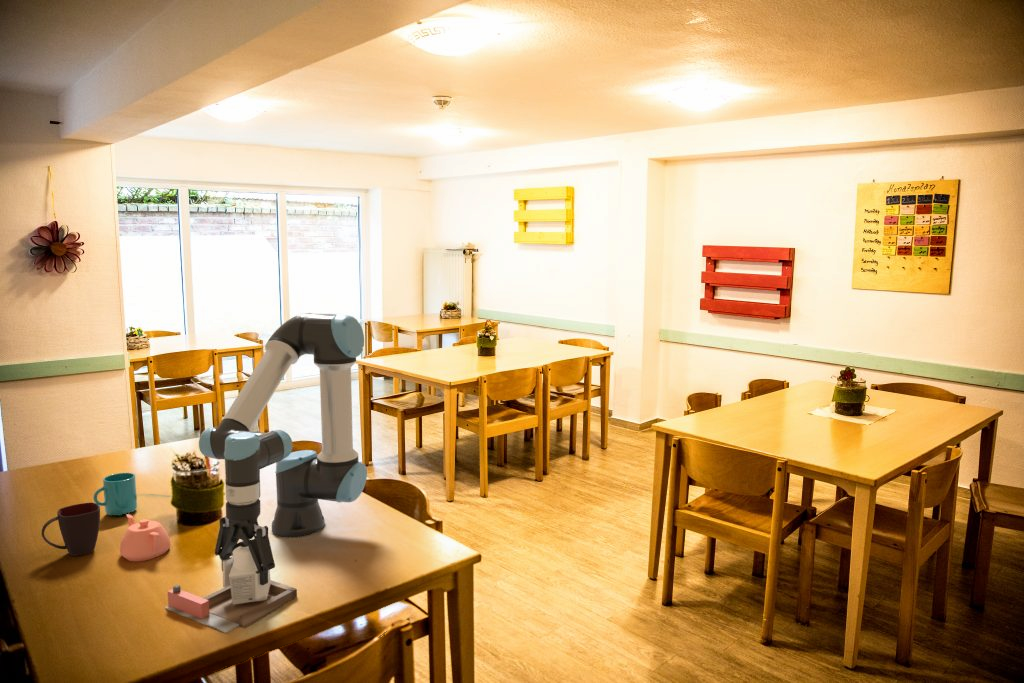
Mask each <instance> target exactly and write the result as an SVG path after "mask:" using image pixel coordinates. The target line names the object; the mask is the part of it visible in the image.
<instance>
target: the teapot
mask: <svg viewBox="0 0 1024 683" xmlns="http://www.w3.org/2000/svg"><path fill="white" fill-rule="evenodd" d="M125 515H126V518H127V519H128V528H127V529H126V531H125V532H124V534H123V536H122V537H121V540H120V547H119V553H120V555H121V556H122V557H123V558H124V559H125V560H128V561H129V562H135V563H136V562H144V561H149V560H152V559H156V558H157V557H160V556H162V555H164V554H165V553H167V551H168V550H169V549H170V547H171V539H170V536H169V534H168V532H167V530H166V529H165V528H164V526H163V525H162V524H161V523H160V522H159V521H157V520H150V519H145V518H144V519H141V520H139V521H138V522H136V521H135V519H134V518H135V517H134V516H133V515H132V514H131V513H128V514H125Z"/></svg>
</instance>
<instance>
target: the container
mask: <svg viewBox="0 0 1024 683" xmlns="http://www.w3.org/2000/svg"><path fill="white" fill-rule="evenodd" d="M231 557H233V566H232V568H231V571H230V574H229V580H230V588H231V596H232V603H233V604H241V603H248V602H256V601H263V600H266V599H267V597H268V593H269V589H270V585H271V573H270V572H271V569H270V570H268V583H267V595H266V596H264V597H262V598H260V599H255V572H256V571H258V570H257V567H256V565H255V562H254V560H253V557H252V555H251V552H250V550H249V547H248V546H247V545H245V543H244V541H242V540H241V541H238V543H237V544H236V545H235V546H234V547H233V548H232V556H231ZM261 566H262V565H261Z"/></svg>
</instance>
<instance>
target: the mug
mask: <svg viewBox="0 0 1024 683" xmlns="http://www.w3.org/2000/svg"><path fill="white" fill-rule="evenodd" d="M56 514H57V516H54V517H52V518H50V519H49V520H48V521H46V522H45V523H44V524H43V526H42V528H41V537H42V539H43V541H44V542H45V543H47V544H48V545H49V546H50V547H53V548H56V549H59V550H67V552H68V554H69V555H71V556H72V557H75V556H76V557H77V556H82V555H86V554H90V553H92V552H94V551H95V549H96V545H97V541H98V537H99V536H98V535H99V531H100V524H101V506H100V505H98V504H96V503H95V502H83V503H78V504H77V503H76V504H72V505H68V506H64V507H61V508H58V511H57V513H56ZM56 521H58V526H59V527H58V528H59V530H60V534H61V536H62V541H63V542H64V545H59V544H55V543H53V542H51V541H50V540H48V539H47V538H46V535H45V530H46V529H47V528H48V526H50V524H52V523H53V522H56Z"/></svg>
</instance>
